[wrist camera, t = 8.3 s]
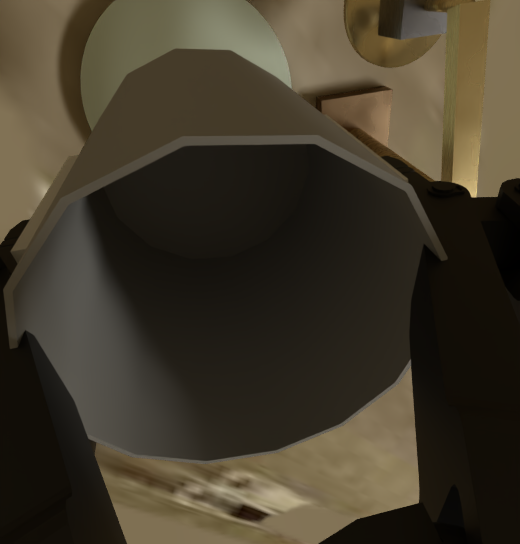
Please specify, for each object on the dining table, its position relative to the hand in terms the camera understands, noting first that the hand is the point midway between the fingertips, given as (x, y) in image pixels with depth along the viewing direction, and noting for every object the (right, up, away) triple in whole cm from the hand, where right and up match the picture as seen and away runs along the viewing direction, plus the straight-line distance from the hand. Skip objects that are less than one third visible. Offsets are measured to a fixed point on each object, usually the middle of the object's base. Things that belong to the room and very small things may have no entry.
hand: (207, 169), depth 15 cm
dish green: (-2, +7, +10) cm, 13 cm away
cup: (0, 0, 0) cm, 1 cm away
